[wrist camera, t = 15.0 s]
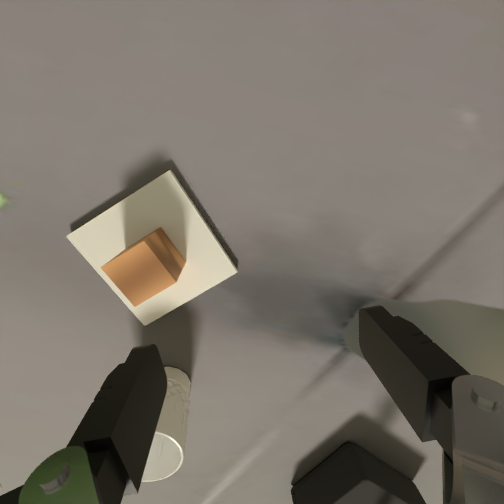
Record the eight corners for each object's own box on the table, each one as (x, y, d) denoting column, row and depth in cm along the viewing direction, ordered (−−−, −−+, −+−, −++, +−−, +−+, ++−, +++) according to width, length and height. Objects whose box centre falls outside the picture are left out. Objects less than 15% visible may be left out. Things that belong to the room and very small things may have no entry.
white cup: (201, 369, 37) (191, 437, 28) (187, 409, 39) (173, 486, 30) (146, 357, 36) (116, 424, 26) (134, 399, 38) (102, 476, 29)
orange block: (125, 248, 30) (100, 267, 24) (160, 226, 30) (144, 240, 24) (152, 282, 31) (134, 307, 26) (186, 261, 31) (176, 282, 25)
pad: (71, 234, 30) (66, 236, 29) (171, 169, 29) (169, 170, 28) (147, 321, 34) (144, 326, 33) (237, 269, 33) (237, 272, 32)
